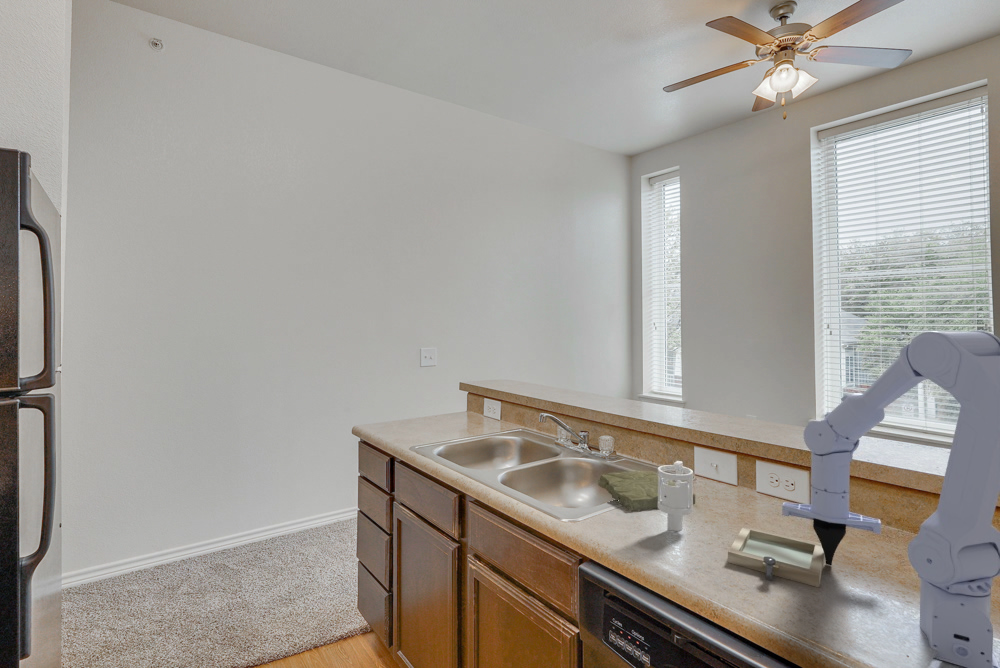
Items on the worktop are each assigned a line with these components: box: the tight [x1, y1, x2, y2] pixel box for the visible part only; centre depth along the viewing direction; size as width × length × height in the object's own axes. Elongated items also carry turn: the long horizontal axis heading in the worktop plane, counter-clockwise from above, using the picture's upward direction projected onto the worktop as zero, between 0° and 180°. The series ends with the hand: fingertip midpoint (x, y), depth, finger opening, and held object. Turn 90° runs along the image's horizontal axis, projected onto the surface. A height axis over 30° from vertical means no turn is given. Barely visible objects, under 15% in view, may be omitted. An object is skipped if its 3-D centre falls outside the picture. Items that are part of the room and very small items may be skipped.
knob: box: [763, 557, 776, 582], centre depth 83 cm, size 2×2×5 cm
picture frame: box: [727, 525, 825, 588], centre depth 90 cm, size 15×14×2 cm
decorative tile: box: [597, 470, 696, 512], centre depth 129 cm, size 19×20×4 cm
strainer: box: [657, 460, 694, 532], centre depth 104 cm, size 7×7×15 cm
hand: (828, 562), depth 88 cm, fingers closed
